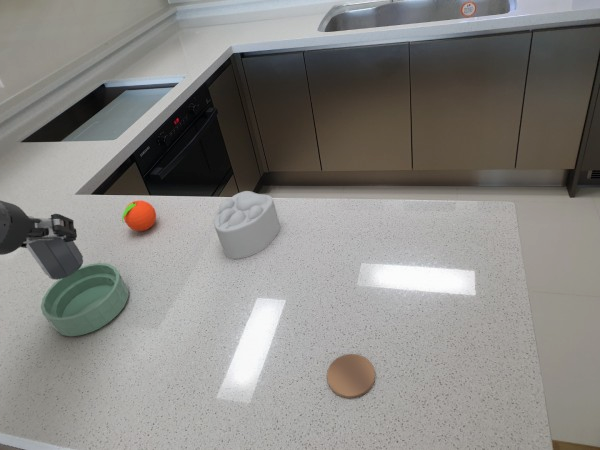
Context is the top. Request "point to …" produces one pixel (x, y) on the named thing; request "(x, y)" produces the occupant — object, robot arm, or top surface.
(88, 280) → the bowl
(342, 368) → the coaster
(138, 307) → the top surface
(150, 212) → the clementine
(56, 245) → the cup
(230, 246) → the lumpy-topped squat cylinder
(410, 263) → the top surface
